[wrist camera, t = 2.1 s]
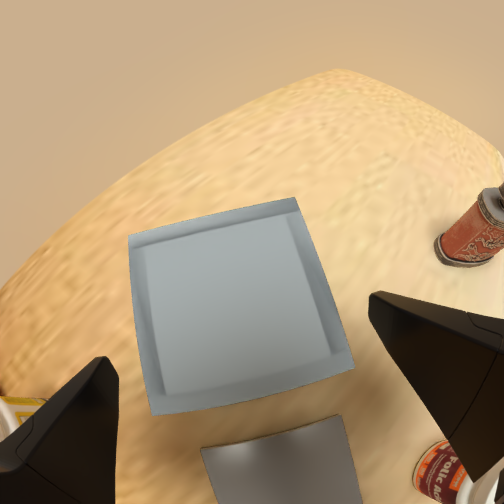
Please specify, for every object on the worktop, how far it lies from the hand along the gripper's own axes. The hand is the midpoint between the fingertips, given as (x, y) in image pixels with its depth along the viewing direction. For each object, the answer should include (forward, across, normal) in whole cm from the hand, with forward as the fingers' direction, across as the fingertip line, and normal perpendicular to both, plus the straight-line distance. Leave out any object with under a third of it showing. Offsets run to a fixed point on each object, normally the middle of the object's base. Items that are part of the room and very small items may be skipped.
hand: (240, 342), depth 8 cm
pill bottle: (-3, -11, +16) cm, 20 cm away
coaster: (-1, 0, +13) cm, 13 cm away
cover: (+7, 0, +6) cm, 9 cm away
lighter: (+8, -21, +5) cm, 23 cm away
